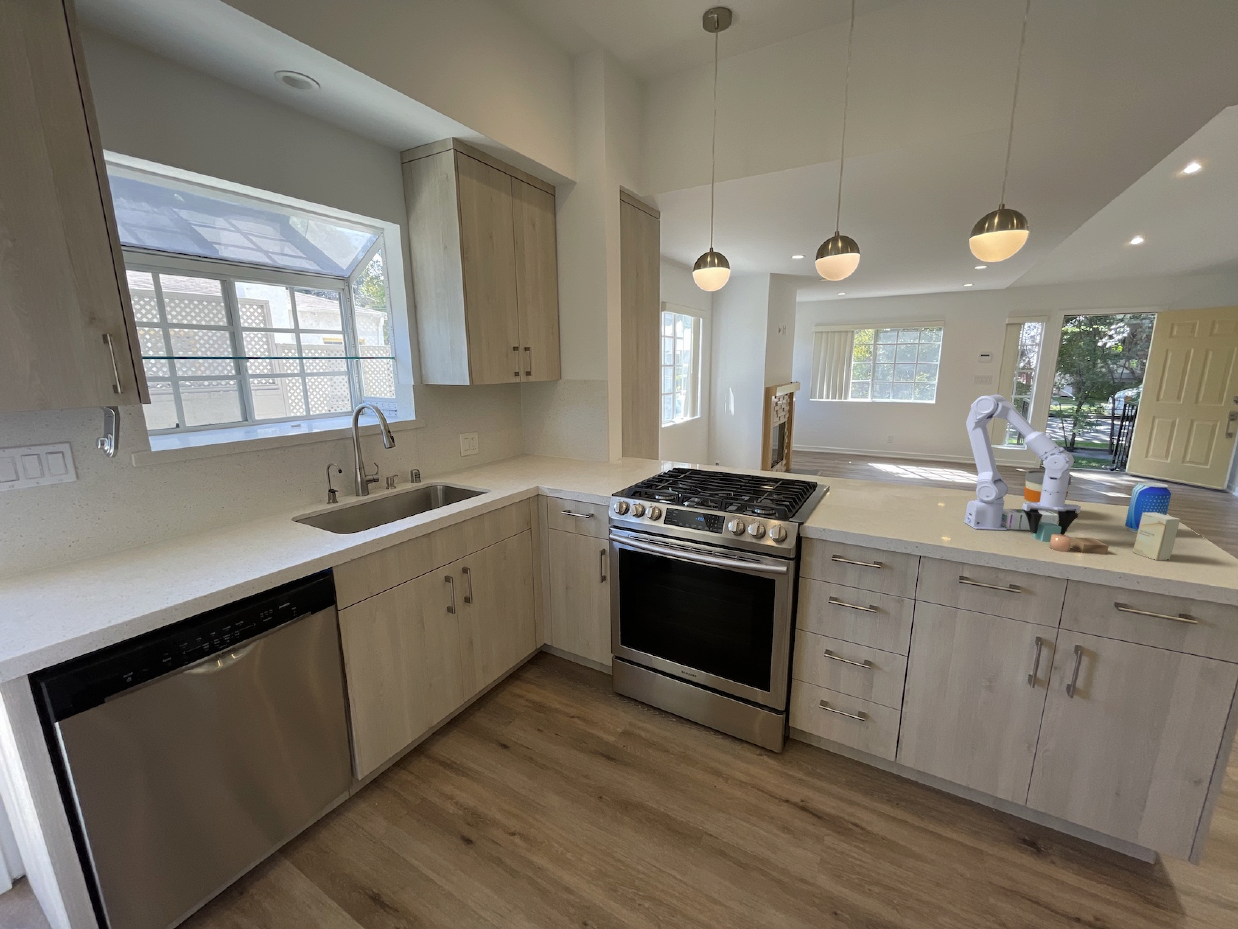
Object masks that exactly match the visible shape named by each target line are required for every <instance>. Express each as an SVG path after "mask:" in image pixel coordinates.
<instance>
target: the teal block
mask: <svg viewBox="0 0 1238 929" xmlns="http://www.w3.org/2000/svg"><path fill="white" fill-rule="evenodd" d="M1060 533H1061V527H1060V526H1058V524H1057V525H1056V524H1054V523H1051V522H1039V525H1038V531H1037V533H1036V534H1034V533H1032V537H1033V538H1034V539H1036V538H1037V539H1036V540H1038V541H1041V542H1042V543H1043V542H1044V543H1050V541H1051V535H1052V534H1060Z"/></svg>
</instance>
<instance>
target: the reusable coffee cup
mask: <svg viewBox="0 0 1238 929" xmlns="http://www.w3.org/2000/svg"><path fill="white" fill-rule="evenodd" d="M1044 475H1045V470H1039V469H1038V470H1037V469H1036V470H1027V471H1026V473H1025V477H1024V480H1025V485H1024V487H1023V488H1024V489H1023V490H1024V491H1023V495H1024V496H1023V497H1024V498H1023V499H1024V500H1025V503H1037V502H1040V497H1041V491H1042V485H1043V479H1044ZM1071 480H1072V476H1071V475H1070V474H1069V481H1068V487H1067V492H1066V498H1065V501H1066V499H1067V497H1068V493H1069V491H1068V490H1069V486H1070V485H1072V484H1071V483H1072V481H1071ZM1050 512H1053V513H1055V514H1057V515H1058V511H1050Z"/></svg>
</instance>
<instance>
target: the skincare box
mask: <svg viewBox="0 0 1238 929" xmlns="http://www.w3.org/2000/svg"><path fill="white" fill-rule="evenodd" d="M1180 522H1181V518H1179V517H1174V516H1171V515H1168V514H1167V515H1163V514H1160V513H1156V512H1148V513H1143V514H1142V517H1141V521H1140V525H1139V529H1138V533H1136V538H1135V542H1134V545H1133V548H1132V553H1134V554H1137V555H1140V556H1142V555H1143V557H1145V556H1146V557H1145V558H1148V557H1149V559H1150V558H1152V559H1151V560H1153V559H1155V560H1154V561H1168V560H1167V559H1169V560H1170V558H1171V554H1172V551H1173V547H1174V544H1175V541H1176V536H1177V532H1178V529H1179V525H1180Z"/></svg>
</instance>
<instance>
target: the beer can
mask: <svg viewBox="0 0 1238 929" xmlns="http://www.w3.org/2000/svg"><path fill="white" fill-rule="evenodd" d="M1130 495H1131V496H1130V499H1129V505H1128V510H1127V513H1126V519H1125V524H1124V525H1125V528H1126V529H1127V531H1128V532H1131V533H1133V534H1137V533H1138V529H1139V525H1140V521H1141V517H1142V514H1143V513H1148V512H1156V513H1160V514H1163V515H1167V516H1168V510H1169V506H1170V501H1171V496H1172V491H1171V490H1170V489H1169V485H1168V484H1165V483H1160V482H1152V481H1139V482H1137V484H1136V485H1135V486H1134V487H1133V488H1132V490H1131V494H1130Z"/></svg>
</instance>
